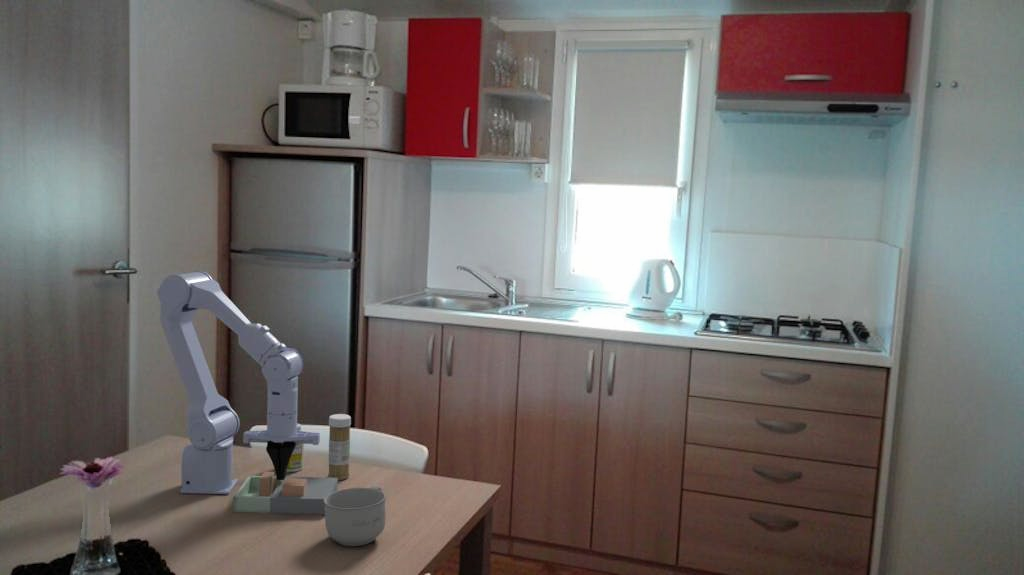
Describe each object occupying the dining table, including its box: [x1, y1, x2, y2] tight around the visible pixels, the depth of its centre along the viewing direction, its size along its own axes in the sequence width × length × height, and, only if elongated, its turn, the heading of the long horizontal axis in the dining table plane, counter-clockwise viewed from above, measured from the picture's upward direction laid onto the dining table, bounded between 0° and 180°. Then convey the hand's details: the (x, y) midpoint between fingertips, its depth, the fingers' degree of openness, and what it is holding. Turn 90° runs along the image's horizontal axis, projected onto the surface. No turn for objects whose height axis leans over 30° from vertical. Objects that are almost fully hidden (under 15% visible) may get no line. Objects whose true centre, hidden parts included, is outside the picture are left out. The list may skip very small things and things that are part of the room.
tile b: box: [282, 478, 307, 496], centre depth 164 cm, size 4×4×2 cm
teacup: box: [324, 485, 387, 547], centre depth 152 cm, size 14×11×8 cm
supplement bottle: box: [286, 422, 305, 473], centre depth 186 cm, size 5×5×10 cm
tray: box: [232, 475, 281, 514], centre depth 167 cm, size 7×12×3 cm, turn 4°
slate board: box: [269, 476, 339, 515], centre depth 167 cm, size 11×12×3 cm
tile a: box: [259, 471, 275, 497], centre depth 169 cm, size 4×4×2 cm
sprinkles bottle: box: [327, 413, 352, 481], centre depth 182 cm, size 5×5×13 cm
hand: (281, 478), depth 169 cm, fingers closed
